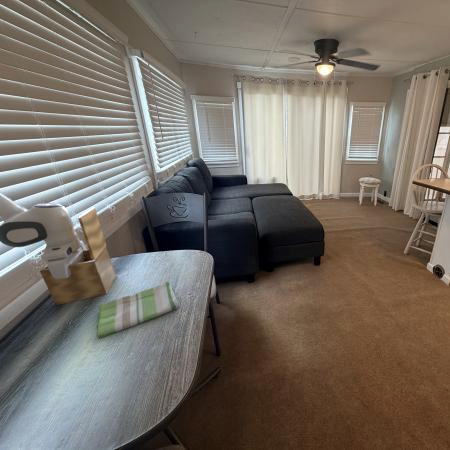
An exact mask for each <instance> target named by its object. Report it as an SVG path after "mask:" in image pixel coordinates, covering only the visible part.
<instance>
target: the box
mask: <svg viewBox="0 0 450 450" xmlns="http://www.w3.org/2000/svg"><path fill="white" fill-rule="evenodd" d="M86 249H87V248H86ZM83 253H84V255H85V259H84V262H82V263H76V264H70V265H68V266H69V268H70V271H71V273H72V274H71V275H70V276H69V277H68V278H65V279H60V280H56V279H55V278H53V276H52V274H51V272H50V270H49V268H48V266H47V264H45V265H44V266H43V267H42V268H41V269H40V270H39V273H40V275H41V278H42V279H43V281H44V284H45V286H46V287H47V289H48V292H49V293H50V295H51V297H52V300H53V302H54V304H55V305H56V306H58V305H63V304H67V303H72V302H77V301H81V300H85V299H90V298H95V297H99V296H103V295H108V292H109V291H110V289H111V287H112V285H113V284H114V282H113V281H115V280H116V278H117V274H116V271H115V267H114V265H113V263H112V260H111V258H110V254H109V252H108V249H107V246H105V248H104V249H103V250H102V251H101V253H100V254H99V255H98V257H97V258H96V259H95V260H92V258H91V255H90V252H89V249H87V250H83Z"/></svg>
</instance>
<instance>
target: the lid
mask: <svg viewBox="0 0 450 450" xmlns="http://www.w3.org/2000/svg"><path fill="white" fill-rule="evenodd" d="M77 219H78V222H79V225H80V228H81V231H82V234H83V237H84V240H85V242H86V246H87V248H88V249H89V252H90V255H91V258H92V260H95V259H96V258H97V257H98V255H99V254H100V253H101V251H102V250H103V249H104V248H105V247H107V242H106V240H105V236H104V233H103V229H102V227H101V223H100V220H99V216H98V213H97V211H96V207H91V208H90V209H88V210H87V211H85V212H84V213H82V214H81V215H79V217H78V218H77Z"/></svg>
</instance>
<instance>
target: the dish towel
mask: <svg viewBox="0 0 450 450" xmlns="http://www.w3.org/2000/svg"><path fill="white" fill-rule="evenodd" d="M178 307H180V305H179V302H178V299H177V297H176V294H175V290H174V287H173V284H171V282H170V280H168V281H165V282H163V283H162V284H159V285H157V286H154V287H150V288H148V289H147V288H146V289H144V290H141V291H140V292H137V293H133V294H131V295H129V294H128V295H126V296H122V297H120V298H117V299H114V300H110V301H108V302H105V303H102V304H100V305H99V307H98V308H99V309H98V311H99V312H98V315H99V316H98V324H97V327H96V328H97V330H96V331H97V334H96V338H97V339H100V338H103V337H105V336H108V335H111V334H114V333H117V332H119V331H123V330H126V329H129V328H132V327H134V326H136V325H138V324H142V323H144V322H147V321H150V320H153V319H155V318H158V317H160V316H162V315H165V314H167V313H169V312H172V311H173V310H176V309H178Z"/></svg>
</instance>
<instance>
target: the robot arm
mask: <svg viewBox="0 0 450 450" xmlns="http://www.w3.org/2000/svg"><path fill="white" fill-rule="evenodd" d="M0 216H1V217H2V219H1V220H2V221H3V222H2V223H1V224H0V243H1V244H3V245H5V246H7V247H11V248H24V247H28V246H31V245H34V244H37V243H40V242H42V241H44V242H45V249H44V251H43V254H42V255H41V258H42V260H43V261H44V262H45V261H46V265H47V266H48V268H49V270H50V272H51V274H52V276H53V278H55V279H56V280H60V279H65V278H68V277H69V276H70V275H71V274H72V273H71V271H70V268H69V266H68V265H70V264H76V263H79V261H80V260H81V261H82V262H84V259H85V255H84V253H83V250H87V247H86V245H85V243H84V241H83V240H80V237H79V235H78V232H76V230H75V228H74V221H73V219H72V217H71V215H70V213H69V211H68V210H67V208H66V207H65V206H64V205H63V204H60V203H55V202H42V203H37V204H34V205H32V207H31V208H26V207H24V206H22V205H20V204H18V203H17V202H16V201H14V200H12V199H11V198H9V197H8V196H6V195H5V194H4V193H2V192H0Z"/></svg>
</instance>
